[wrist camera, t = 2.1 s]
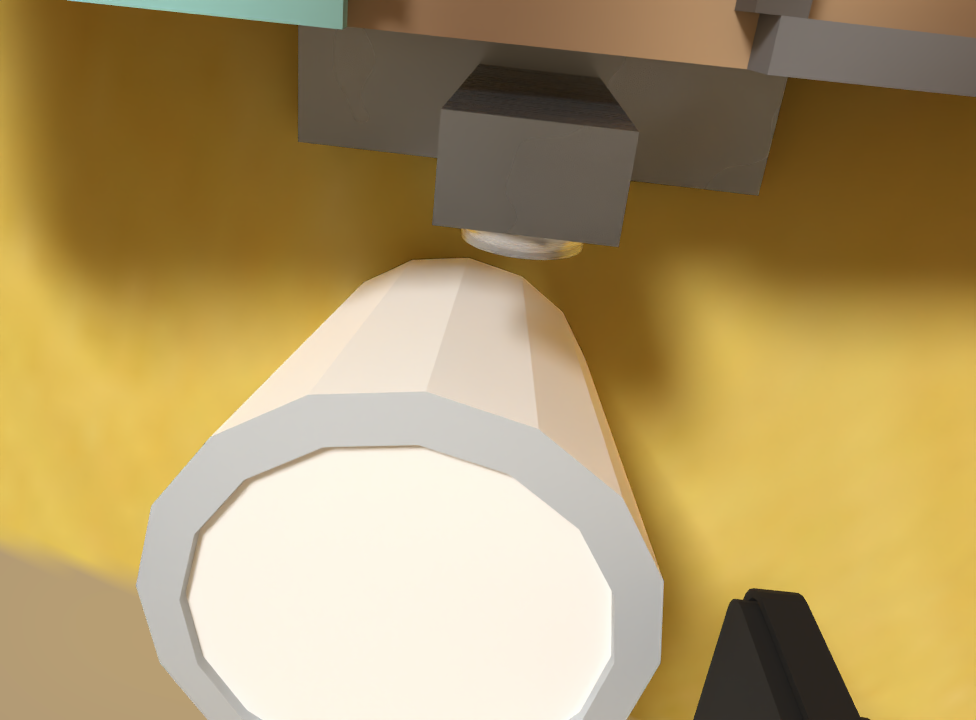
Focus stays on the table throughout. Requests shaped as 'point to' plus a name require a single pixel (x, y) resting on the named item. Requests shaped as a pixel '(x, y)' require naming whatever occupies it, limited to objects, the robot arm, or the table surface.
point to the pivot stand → (535, 128)
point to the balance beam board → (676, 31)
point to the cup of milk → (411, 523)
